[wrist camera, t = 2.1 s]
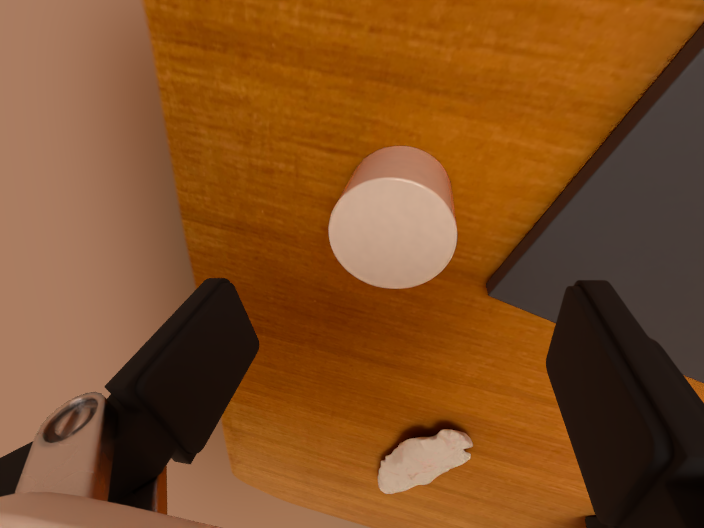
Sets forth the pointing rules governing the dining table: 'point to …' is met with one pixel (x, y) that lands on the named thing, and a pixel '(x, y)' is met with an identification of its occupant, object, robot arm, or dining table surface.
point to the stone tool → (423, 460)
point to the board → (631, 220)
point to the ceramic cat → (594, 523)
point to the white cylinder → (395, 219)
